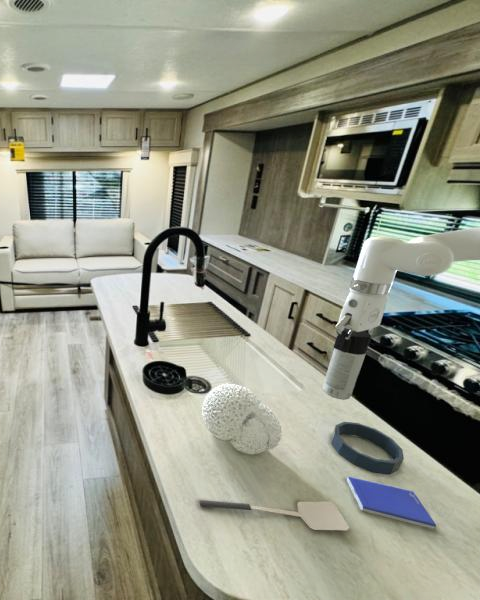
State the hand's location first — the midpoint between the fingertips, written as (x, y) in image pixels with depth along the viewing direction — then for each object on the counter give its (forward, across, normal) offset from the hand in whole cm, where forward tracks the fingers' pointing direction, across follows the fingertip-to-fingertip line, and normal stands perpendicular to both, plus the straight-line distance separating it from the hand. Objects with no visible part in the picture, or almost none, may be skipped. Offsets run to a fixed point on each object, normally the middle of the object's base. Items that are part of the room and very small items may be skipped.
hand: (349, 347), depth 86 cm
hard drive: (+26, -14, -23) cm, 37 cm away
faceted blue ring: (+25, -3, -12) cm, 28 cm away
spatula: (+26, -41, -14) cm, 50 cm away
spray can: (+15, 0, 0) cm, 15 cm away
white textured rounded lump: (+26, -30, +5) cm, 40 cm away
